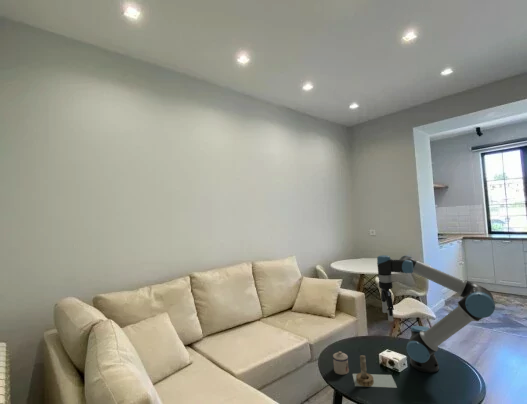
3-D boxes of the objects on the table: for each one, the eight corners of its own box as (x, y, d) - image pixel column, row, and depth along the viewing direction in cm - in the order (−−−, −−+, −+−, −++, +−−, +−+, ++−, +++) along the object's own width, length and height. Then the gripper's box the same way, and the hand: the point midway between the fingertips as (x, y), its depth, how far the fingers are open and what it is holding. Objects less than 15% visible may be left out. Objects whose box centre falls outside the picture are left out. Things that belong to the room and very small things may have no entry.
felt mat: (391, 375, 168) (391, 374, 168) (397, 388, 156) (397, 387, 156) (352, 374, 172) (352, 373, 172) (355, 386, 160) (355, 386, 160)
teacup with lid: (349, 375, 170) (348, 355, 170) (334, 375, 172) (332, 355, 172) (348, 364, 182) (346, 346, 182) (333, 364, 184) (331, 345, 184)
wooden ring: (371, 377, 167) (371, 372, 167) (375, 386, 158) (374, 382, 158) (355, 376, 168) (355, 372, 168) (358, 386, 159) (357, 381, 160)
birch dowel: (366, 380, 164) (364, 355, 165) (367, 383, 161) (365, 357, 162) (361, 379, 165) (359, 355, 165) (362, 383, 162) (360, 357, 162)
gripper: (374, 276, 188) (376, 309, 188) (383, 287, 164) (386, 324, 163) (386, 276, 187) (389, 309, 186) (397, 286, 162) (400, 324, 162)
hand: (387, 316), depth 175 cm, fingers open, 13 cm apart
